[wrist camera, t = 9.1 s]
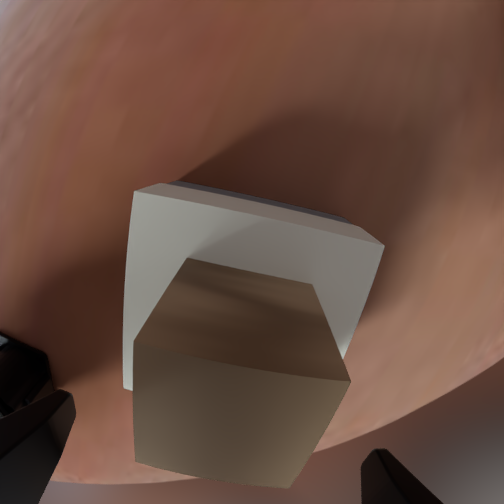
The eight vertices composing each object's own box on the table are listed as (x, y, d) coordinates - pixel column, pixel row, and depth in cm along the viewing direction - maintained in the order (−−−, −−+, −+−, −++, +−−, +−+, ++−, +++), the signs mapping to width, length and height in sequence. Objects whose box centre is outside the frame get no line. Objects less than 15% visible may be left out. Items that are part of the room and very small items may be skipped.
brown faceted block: (172, 359, 14) (135, 461, 8) (187, 257, 12) (133, 340, 6) (279, 380, 14) (289, 488, 8) (312, 283, 12) (351, 381, 7)
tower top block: (142, 351, 18) (123, 388, 14) (160, 182, 15) (134, 191, 11) (304, 383, 18) (311, 424, 15) (359, 226, 15) (385, 245, 12)
